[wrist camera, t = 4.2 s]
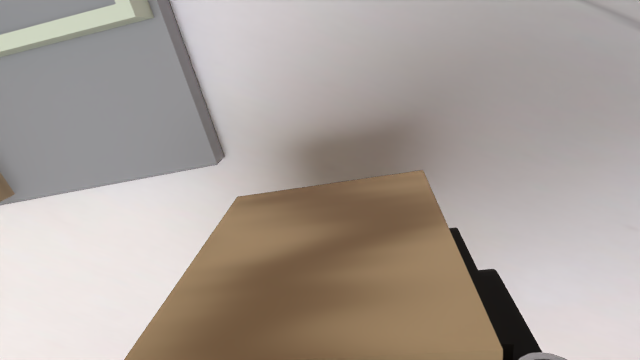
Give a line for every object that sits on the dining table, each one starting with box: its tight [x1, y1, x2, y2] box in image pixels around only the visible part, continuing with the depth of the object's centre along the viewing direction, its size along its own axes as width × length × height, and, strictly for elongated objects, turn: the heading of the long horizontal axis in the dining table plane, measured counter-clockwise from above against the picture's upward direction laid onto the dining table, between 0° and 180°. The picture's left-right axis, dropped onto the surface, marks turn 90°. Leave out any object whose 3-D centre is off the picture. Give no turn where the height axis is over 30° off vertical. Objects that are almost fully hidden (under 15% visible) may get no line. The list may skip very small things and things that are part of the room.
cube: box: [124, 170, 503, 360], centre depth 9 cm, size 6×6×6 cm
